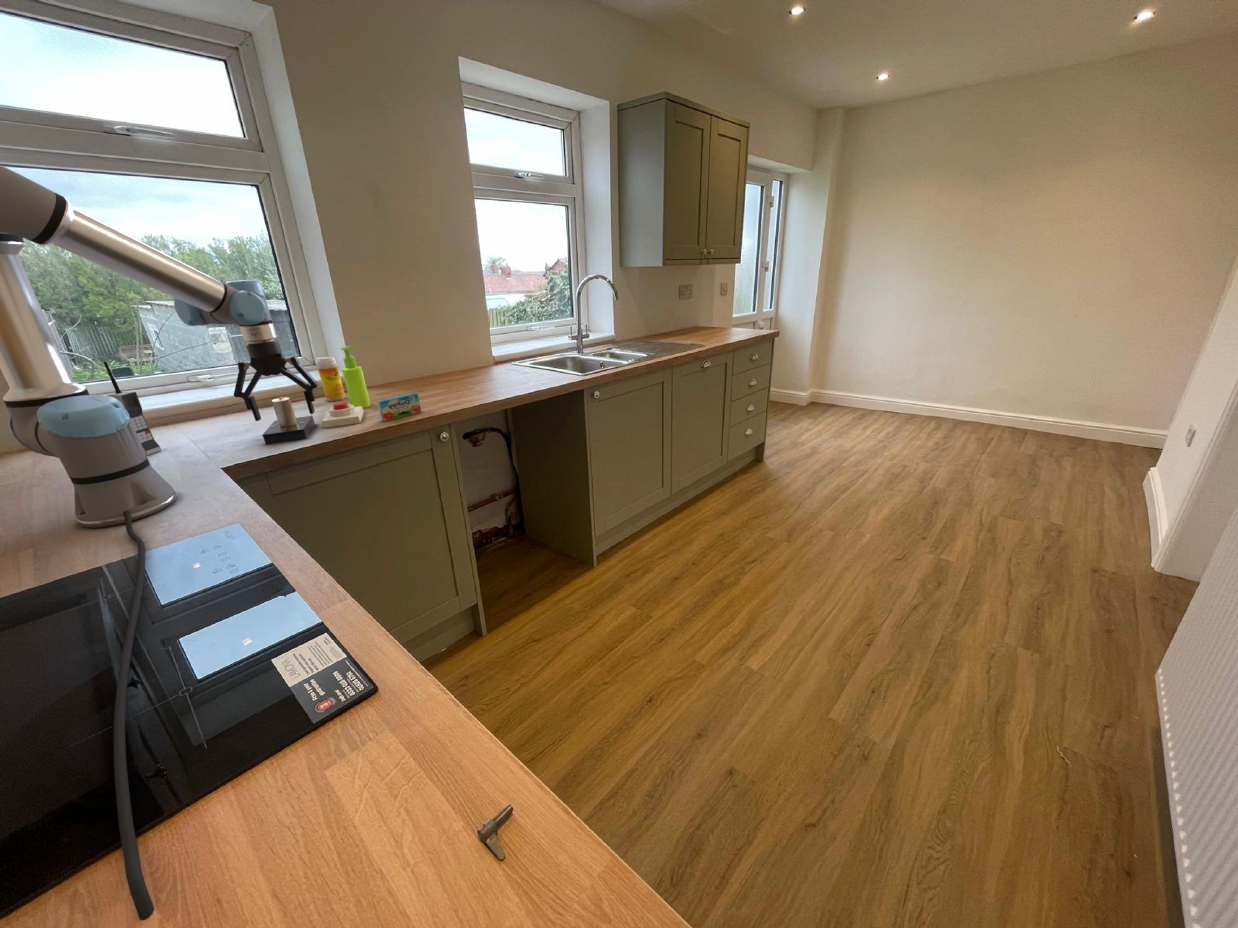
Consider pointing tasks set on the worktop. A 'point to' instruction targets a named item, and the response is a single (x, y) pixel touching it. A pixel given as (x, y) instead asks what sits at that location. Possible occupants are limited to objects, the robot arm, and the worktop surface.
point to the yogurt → (399, 406)
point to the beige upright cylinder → (284, 411)
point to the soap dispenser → (354, 380)
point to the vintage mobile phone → (135, 416)
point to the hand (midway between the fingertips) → (285, 416)
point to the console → (289, 431)
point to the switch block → (343, 416)
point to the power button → (340, 405)
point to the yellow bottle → (330, 378)
